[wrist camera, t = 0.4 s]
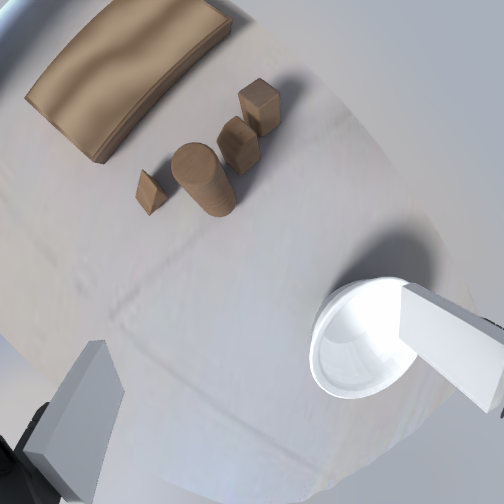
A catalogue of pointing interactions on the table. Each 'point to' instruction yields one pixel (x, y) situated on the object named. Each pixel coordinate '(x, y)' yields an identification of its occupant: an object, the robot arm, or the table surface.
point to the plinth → (123, 68)
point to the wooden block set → (207, 163)
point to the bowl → (359, 339)
